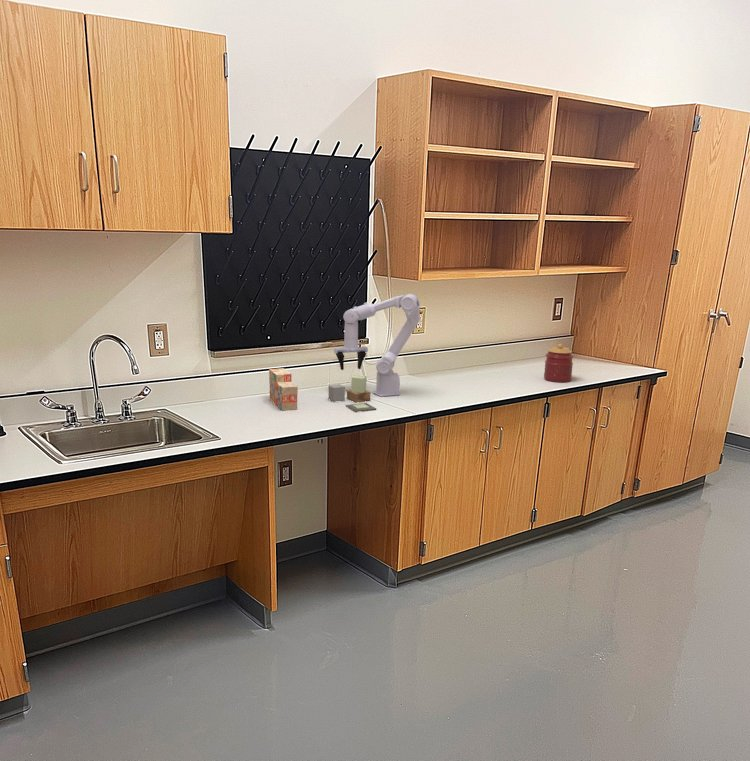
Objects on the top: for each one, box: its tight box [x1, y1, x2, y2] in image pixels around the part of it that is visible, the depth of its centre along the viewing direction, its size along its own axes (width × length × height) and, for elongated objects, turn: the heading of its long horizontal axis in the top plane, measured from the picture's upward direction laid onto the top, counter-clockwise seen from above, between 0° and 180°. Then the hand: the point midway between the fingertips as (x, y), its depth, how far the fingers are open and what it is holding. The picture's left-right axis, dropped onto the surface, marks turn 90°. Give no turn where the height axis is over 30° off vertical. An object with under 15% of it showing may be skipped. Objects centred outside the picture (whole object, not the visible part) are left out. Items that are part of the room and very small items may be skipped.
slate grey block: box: [328, 383, 346, 403], centre depth 276 cm, size 5×5×6 cm
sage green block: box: [350, 374, 368, 393], centre depth 276 cm, size 5×5×6 cm
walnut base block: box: [346, 389, 372, 404], centre depth 277 cm, size 7×7×4 cm
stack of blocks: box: [268, 367, 299, 411], centre depth 268 cm, size 21×6×12 cm, turn 21°
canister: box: [543, 343, 574, 383], centre depth 323 cm, size 13×13×18 cm
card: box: [345, 402, 377, 413], centre depth 265 cm, size 9×9×1 cm
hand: (350, 369), depth 289 cm, fingers open, 7 cm apart
